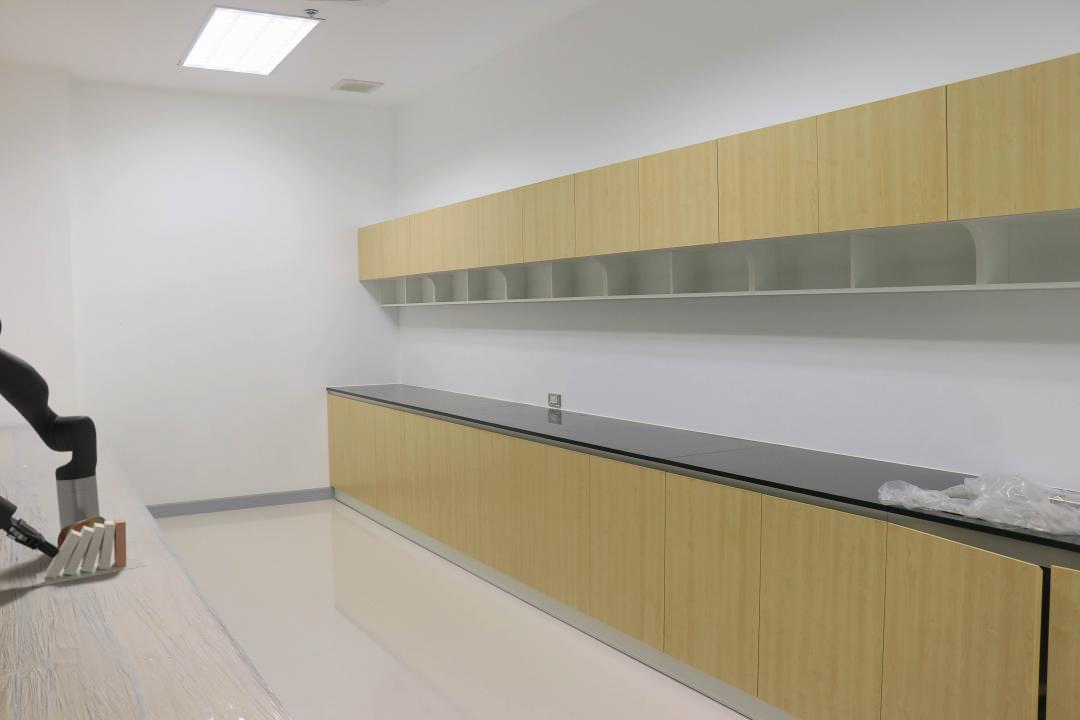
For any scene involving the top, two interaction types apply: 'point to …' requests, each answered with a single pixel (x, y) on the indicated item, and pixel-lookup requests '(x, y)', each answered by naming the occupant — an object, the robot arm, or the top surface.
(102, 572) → the mat
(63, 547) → the domino
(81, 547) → the domino
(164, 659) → the top surface
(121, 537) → the domino
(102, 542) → the domino
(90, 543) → the domino
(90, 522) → the tin
